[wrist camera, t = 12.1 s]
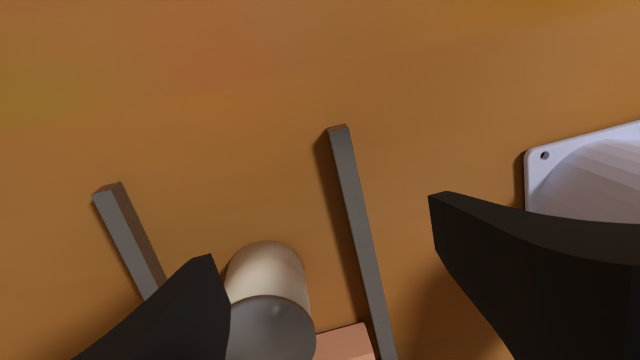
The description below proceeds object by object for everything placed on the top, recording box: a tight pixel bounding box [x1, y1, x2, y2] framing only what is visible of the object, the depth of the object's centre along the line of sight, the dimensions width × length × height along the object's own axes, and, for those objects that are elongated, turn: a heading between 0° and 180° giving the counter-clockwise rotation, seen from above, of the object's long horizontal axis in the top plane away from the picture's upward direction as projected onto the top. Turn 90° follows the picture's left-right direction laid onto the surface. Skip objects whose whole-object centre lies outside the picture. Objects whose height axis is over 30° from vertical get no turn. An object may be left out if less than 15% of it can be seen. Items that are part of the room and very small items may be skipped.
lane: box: [91, 124, 398, 360], centre depth 21 cm, size 13×18×2 cm
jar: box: [224, 241, 316, 360], centre depth 19 cm, size 5×5×6 cm
